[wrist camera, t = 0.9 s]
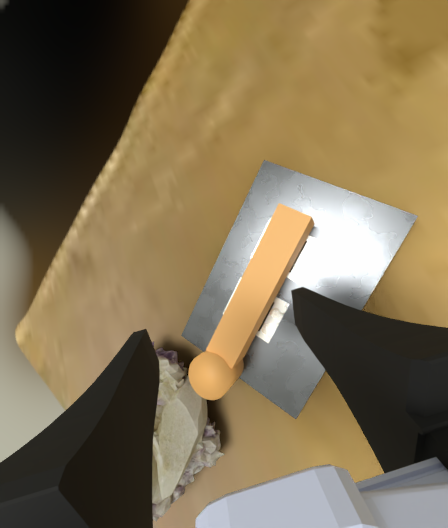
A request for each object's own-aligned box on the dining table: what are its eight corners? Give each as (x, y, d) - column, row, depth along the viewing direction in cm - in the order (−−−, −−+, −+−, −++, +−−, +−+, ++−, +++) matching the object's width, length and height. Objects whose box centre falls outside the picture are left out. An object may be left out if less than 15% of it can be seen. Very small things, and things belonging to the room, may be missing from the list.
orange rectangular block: (232, 390, 24) (216, 409, 20) (201, 366, 25) (181, 381, 22) (320, 225, 21) (318, 218, 18) (280, 208, 22) (271, 198, 19)
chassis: (412, 219, 20) (420, 214, 18) (298, 410, 24) (294, 423, 22) (267, 165, 25) (262, 156, 23) (188, 332, 28) (177, 337, 26)
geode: (239, 353, 32) (129, 342, 35) (224, 346, 23) (80, 333, 26) (225, 534, 25) (94, 500, 29) (198, 616, 17) (15, 554, 20)
